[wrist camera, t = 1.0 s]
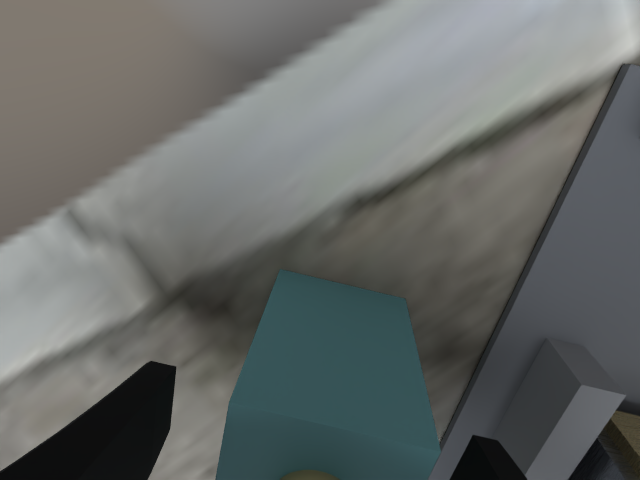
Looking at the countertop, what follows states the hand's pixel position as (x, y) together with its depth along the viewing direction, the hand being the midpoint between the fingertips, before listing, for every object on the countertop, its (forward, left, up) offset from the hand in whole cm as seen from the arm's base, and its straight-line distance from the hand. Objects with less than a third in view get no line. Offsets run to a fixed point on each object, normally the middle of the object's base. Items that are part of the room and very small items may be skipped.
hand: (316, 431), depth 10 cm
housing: (0, 0, -4) cm, 4 cm away
